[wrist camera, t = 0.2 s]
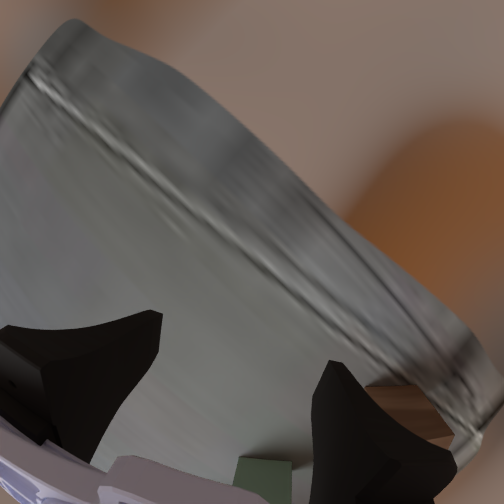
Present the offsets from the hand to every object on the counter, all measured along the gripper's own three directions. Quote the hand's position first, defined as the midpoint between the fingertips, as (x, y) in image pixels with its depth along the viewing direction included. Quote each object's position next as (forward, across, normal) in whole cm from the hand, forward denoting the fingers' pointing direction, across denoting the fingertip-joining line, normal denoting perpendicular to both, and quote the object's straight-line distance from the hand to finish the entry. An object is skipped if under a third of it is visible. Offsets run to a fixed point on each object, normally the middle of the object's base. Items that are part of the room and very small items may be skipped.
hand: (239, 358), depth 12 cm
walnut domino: (+10, -13, +7) cm, 18 cm away
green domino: (+8, -5, +18) cm, 20 cm away
